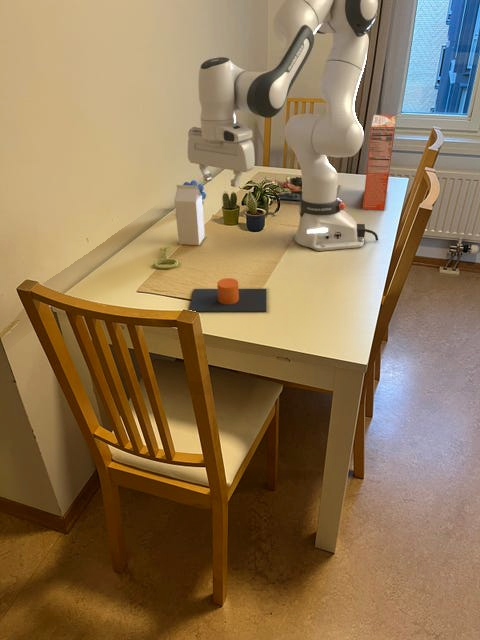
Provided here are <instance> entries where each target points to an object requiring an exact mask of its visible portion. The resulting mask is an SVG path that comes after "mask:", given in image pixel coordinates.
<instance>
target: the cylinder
mask: <svg viewBox="0 0 480 640" xmlns="http://www.w3.org/2000/svg"><path fill="white" fill-rule="evenodd" d="M216 285H217V289H218V301H219V302H220V303H222V304H227V305H229V304H234V303H236V302H238V300H239V289H240V288H239V281H238V280H237V279H235V278H231V277H225V278H221V279H219V280H218V281H217V284H216Z"/></svg>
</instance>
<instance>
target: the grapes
mask: <svg viewBox="0 0 480 640" xmlns="http://www.w3.org/2000/svg"><path fill="white" fill-rule="evenodd" d="M182 185H193V186H198V189H199V191H200V193H201V194H202V206H203V207H204V200H205V199H207V193H206V192H205V191H204V188H205V187H204V185H203V184H201V183H198V182H197V180H194V179H193V180H191V181H190V182H188V181H185V182H184V183H182Z"/></svg>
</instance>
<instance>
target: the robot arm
mask: <svg viewBox="0 0 480 640" xmlns="http://www.w3.org/2000/svg"><path fill="white" fill-rule="evenodd" d="M379 7H380V1H379V0H284V1H283V3H282V4H281V5H280V7H279V8H278V10H277V11H276V13H275V16H274V17H273V22H272V23H273V24H272V25H273V28H272V29H273V33H274V36H275V38H276V40H277V41H278V43H279V45H280V46H281V47H282V48H283V51H282V53H281V55H280V57H279V58H278V60H277V62H276V64H275V65H274V66H273V67H272V68H271V69H268V70H266V71H251V70H245V68H241V67H239V66H237V65H236V64H234V63H233V62H232V61H231V59H230V58H229V57H226V56H225V57H224V56H223V57H222V56H219V57H215V58H214V57H213V58H209V59H207V60H204V62H202V63H201V65H200V67H199V70H198V81H197V82H198V87H197V88H198V101H199V105H200V109H201V110H200V116H199V118H200V127H197V126H192V127H191V128H189V130H188V133H187V137H188V140H187V159H188V161H189V162H190V164H194V165H195V164H196V165H198V166H199V170H200V172H201V174H202V175H203V181H204V182H212V180H213V179H212V178H213V177H212V176H213V175H212V173H210V171H209V169H208V168H209V167H212V168H217V169H224V170H229V171H233V175H234V177H233V179H230V186H231V187H233V188H238V187H240V179H241V177H242V175H243V173H248V172H250V171H252V170H253V169H254V168H255V163H256V161H255V159H256V157H255V147H254V143H253V141H252V140H251V139H252V138H253V130H252V129H251V128H249V127H247V126H246V125H243V124H242V123H240V122H238V121H237V120H236V111H238V112H242V113H246V114H251V115H256V116H259V117H262V118H266V119H270V118H273V117H276V116H277V115H278V114H279V113H280V112H281V111H282V110H283V108H284V106H285V105H286V102H287V100H288V96H289V93H290V91H291V89H292V87H293V85H294V83H295V81H296V80H297V78H298V76H299V74H300V73H301V71H302V70H303V67H304V65H305V64H306V62H307V60H308V58H309V56H310V55H311V53H312V50H313V48H314V44H315V34H320V35H325V34H332V46H331V48H330V50H329V53H328V55H327V57H326V62H325V64H324V67H323V71H322V74H321V78H320V81H319V84H318V89H317V90H318V95H319V96H320V98H321V99H322V101H323V102H324V103H326V111H325V114H314V113H299V114H294V115H292V116H291V117H290V118H289V119H288V120H287V122H286V125H285V126H284V139H285V143H286V144H287V145H288V146H289V147H290V149H291V150H292V151H293V153H294V154H295V157H296V160H297V162H298V164H299V167H300V168H299V169H300V172H301V173H300V174H301V177H302V197H301V198H300V204H299V222H298V228H297V232H296V235H295V238H294V240H295V242H296V243H297V244H299V245H300V246H303V247H307V248H309V249H310V248H311V249H312V250H314V251H317V252H322V251H323V252H324V251H335V250H345V249H356V248H357V249H358V248H362V247H363V246H364V244H365V235H366V233H367V234H368V233H369V234H372V235H373V236H374V239H375V242H377V241H379V236H378V234H377V233H376V232H375V231H373V230H371V229H367V228H366V224H365V223H357V221H356V220H355V218H354V217H353V216H351V215H350V214H349V213H348V212H346V211H344V210H345V209H346V206H347V205H346V204H345V202H343V200H342V199H341V198H340V197H337V196H338V190H337V186H339V185H338V184H339V175H338V172H337V170H336V169H335V168H334V167H333V166H332V164H330V163H329V160H328V158H327V157H332V158H350V157H351V158H352V157H354V156H356V155H357V153H358V152H359V151H360V149H361V148H362V146H363V144H364V138H365V136H364V130H363V126H362V125H361V124H360V123H359V121H358V119H357V116H356V112H355V110H356V109H355V101H356V96H357V92H358V88H359V85H360V81H361V78H362V75H363V72H364V70H365V69H364V68H365V65H366V61H367V56H368V52H369V51H368V50H369V43H370V38H369V35H368V33H369V32H370V30H371V29H372V27H373V24H374V22H375V20H376V17H377V15H378V11H379Z"/></svg>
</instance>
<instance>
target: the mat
mask: <svg viewBox="0 0 480 640" xmlns="http://www.w3.org/2000/svg"><path fill="white" fill-rule="evenodd" d="M238 289H239V300H238V302H236V303H234V304H229V305H227V304H222V303H220V302H219V301H218V288H194V289H193V293H192V297H191V301H190V304H189V305H190V306H189V309H188V311H189V310H192V311H196V312H195V313H267V288H238Z"/></svg>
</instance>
